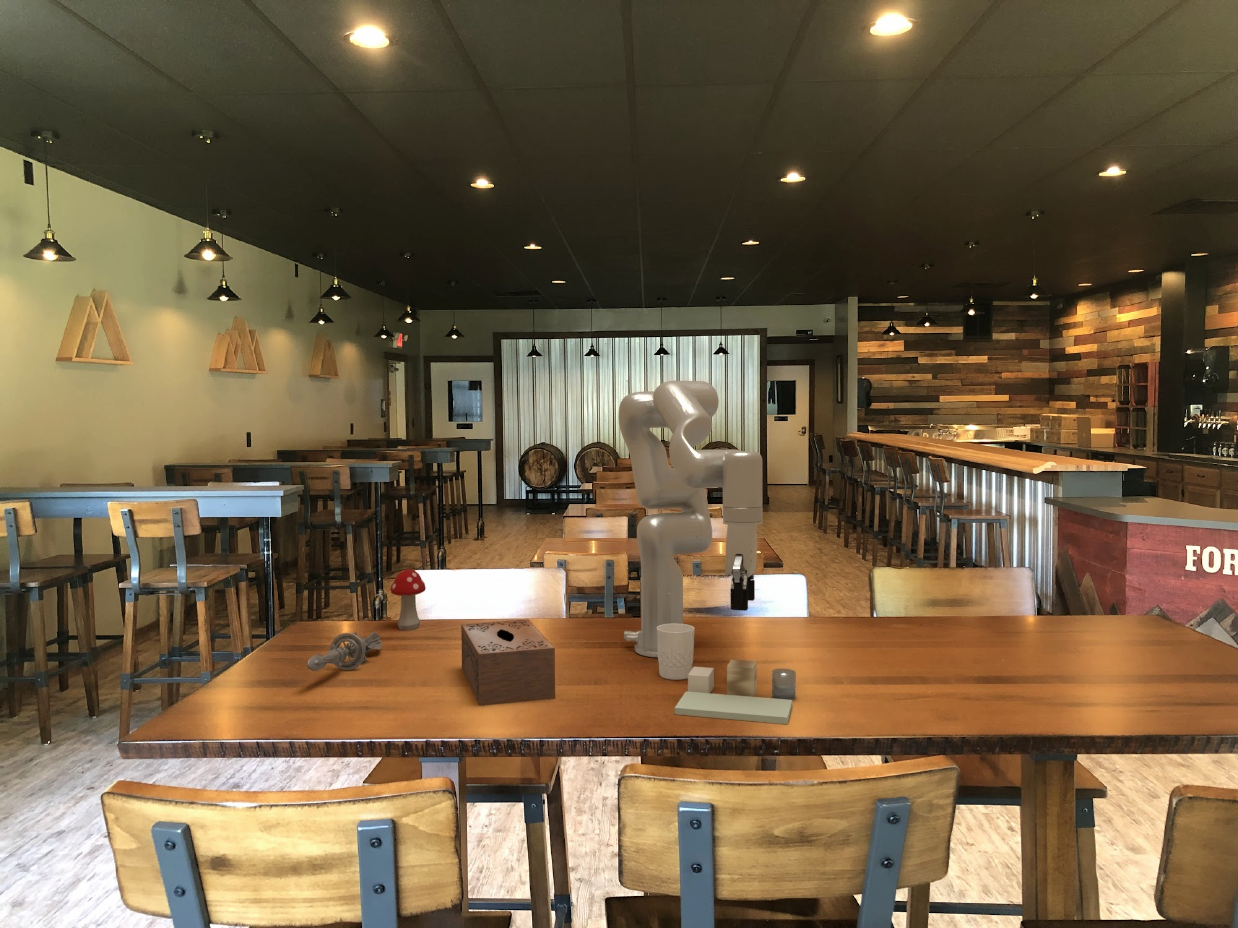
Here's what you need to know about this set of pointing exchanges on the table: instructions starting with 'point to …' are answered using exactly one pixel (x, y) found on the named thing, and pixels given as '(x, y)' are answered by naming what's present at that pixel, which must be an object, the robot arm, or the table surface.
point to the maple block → (742, 678)
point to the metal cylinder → (784, 684)
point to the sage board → (734, 707)
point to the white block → (701, 680)
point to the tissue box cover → (507, 662)
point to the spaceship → (346, 652)
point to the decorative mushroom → (408, 597)
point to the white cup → (675, 650)
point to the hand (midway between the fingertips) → (742, 604)
